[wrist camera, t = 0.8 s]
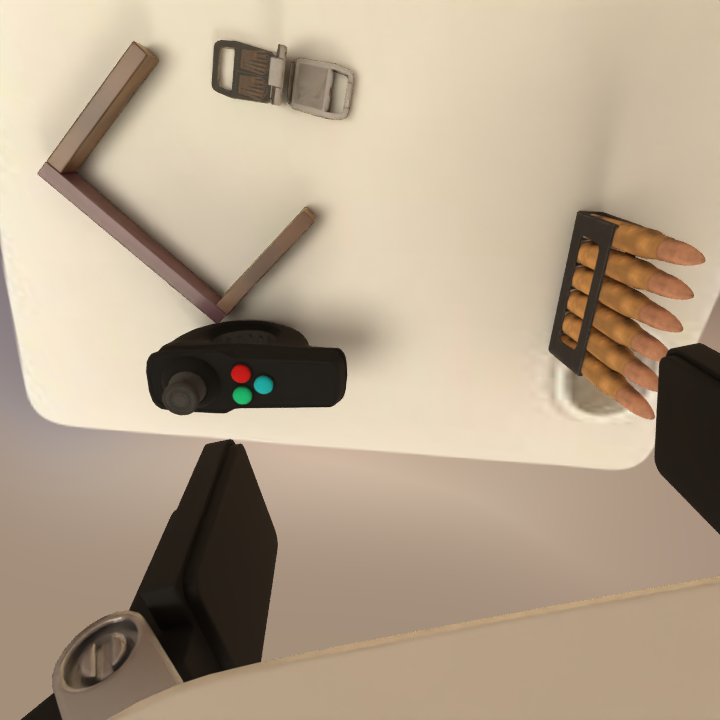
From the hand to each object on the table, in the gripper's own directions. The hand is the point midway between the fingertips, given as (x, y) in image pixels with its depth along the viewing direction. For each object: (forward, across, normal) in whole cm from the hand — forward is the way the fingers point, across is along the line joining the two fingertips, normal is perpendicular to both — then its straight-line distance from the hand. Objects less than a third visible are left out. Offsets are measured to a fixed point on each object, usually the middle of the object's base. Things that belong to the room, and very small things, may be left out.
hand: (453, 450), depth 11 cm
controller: (+26, +10, +6) cm, 28 cm away
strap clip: (+26, +4, -11) cm, 28 cm away
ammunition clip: (+26, -14, +6) cm, 30 cm away
